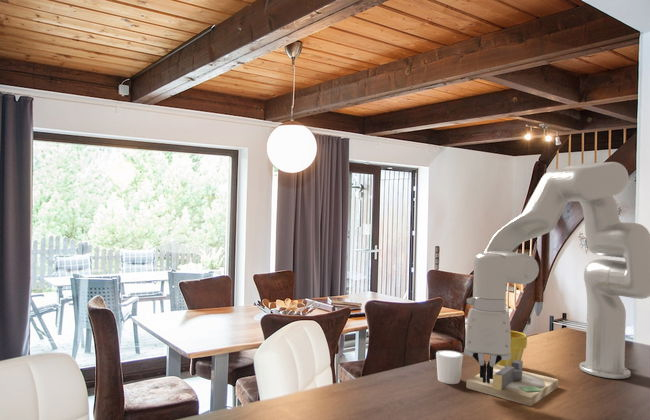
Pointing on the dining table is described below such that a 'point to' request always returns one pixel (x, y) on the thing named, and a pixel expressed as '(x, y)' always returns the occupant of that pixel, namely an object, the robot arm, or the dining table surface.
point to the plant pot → (515, 348)
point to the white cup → (449, 366)
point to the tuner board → (517, 387)
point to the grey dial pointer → (508, 375)
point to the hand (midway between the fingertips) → (486, 381)
